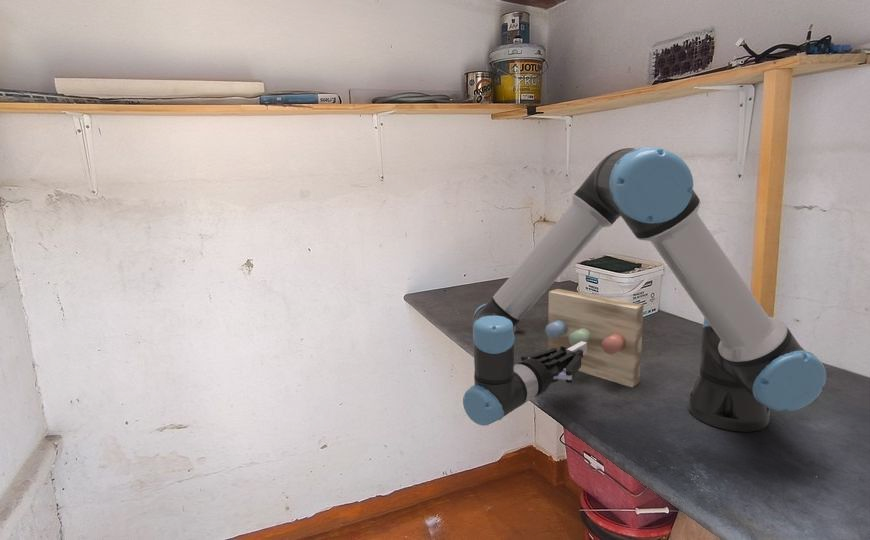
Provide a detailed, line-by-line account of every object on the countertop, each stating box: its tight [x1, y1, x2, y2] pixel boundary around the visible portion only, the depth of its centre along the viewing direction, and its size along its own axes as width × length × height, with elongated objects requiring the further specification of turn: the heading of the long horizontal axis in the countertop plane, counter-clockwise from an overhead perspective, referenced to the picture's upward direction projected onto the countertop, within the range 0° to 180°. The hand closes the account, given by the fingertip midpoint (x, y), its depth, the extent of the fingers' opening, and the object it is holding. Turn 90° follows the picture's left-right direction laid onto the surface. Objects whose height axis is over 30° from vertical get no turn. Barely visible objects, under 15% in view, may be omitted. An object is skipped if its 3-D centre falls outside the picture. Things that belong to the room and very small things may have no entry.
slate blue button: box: [544, 320, 567, 339], centre depth 132 cm, size 4×4×4 cm
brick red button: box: [602, 334, 625, 354], centre depth 121 cm, size 4×4×4 cm
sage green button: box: [569, 328, 592, 346], centre depth 125 cm, size 4×4×4 cm
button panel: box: [547, 288, 644, 388], centre depth 129 cm, size 4×24×20 cm, turn 43°
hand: (583, 347), depth 119 cm, fingers closed
